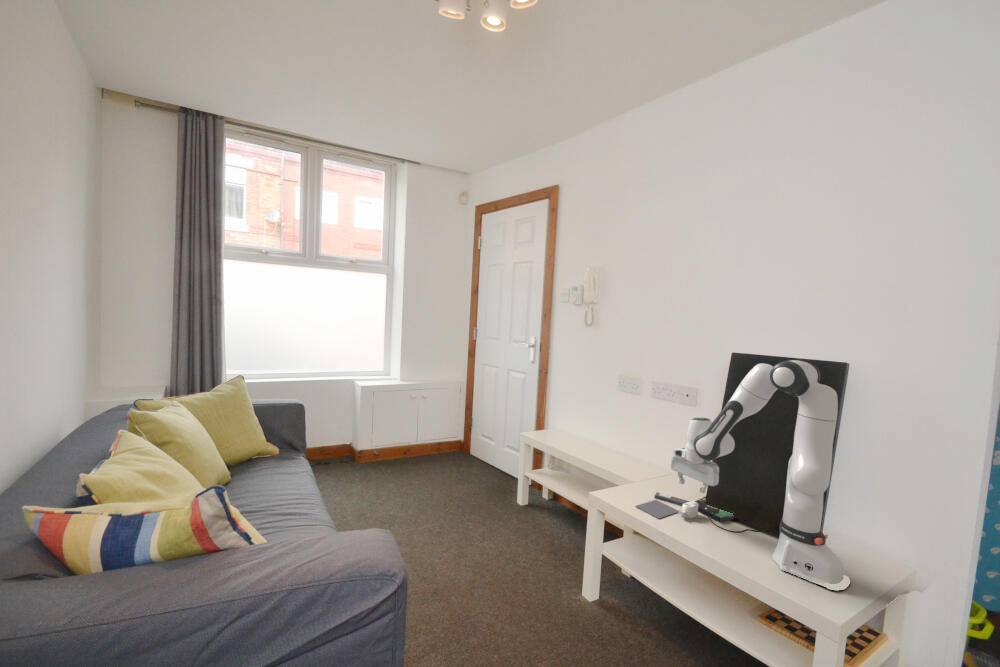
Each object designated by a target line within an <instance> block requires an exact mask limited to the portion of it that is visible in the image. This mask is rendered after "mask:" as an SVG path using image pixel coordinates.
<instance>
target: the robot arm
mask: <svg viewBox="0 0 1000 667" xmlns="http://www.w3.org/2000/svg"><path fill="white" fill-rule="evenodd" d="M820 380H821V372H820V369H819V368H818V367H817V366H816V365H815V364H814V363H811V362H810V361H806V360H798V359H796V360H795V359H794V360H792V359H791V360H784V361H780V362H779V363H777V364H775V365H774V366H773V365H771V364H769V363H763V362H761V363H757V364H756V365H754V366H753V368H751V369H750V370H749V371H748V373H747V374H746V375H745V376H744V378H743V379H742V380H741V382H740V383H739V384H738V386H737V387H736V389H735V391H734V392H733V394H732V396H731V397H730V399H729V400H728V401H727V403H726V404H725V406H724V407H723V408H722V409H721V411H720V412H719V414H718V415H717V416H716V417H715V418H714V420H713V421H712V420H711V419H709V418H707V417H693V418H692V419H690V420H689V424H688V426H687V431H686V432H687V434H686V444H685V447H680V448H679V447H678V448H676V449H673V455H672V456H671V460H670V464H669V465H670V469H671V470H672V471H674V472H677V477H678V479H679V482H678V483H679V484H681V485H685V484H686V483H685V482H686V479H684V476H687V477H689V478H692V479H694V480H695V481H699V482H701V483H702V487H699V492H700V493H702V494H705V493H706V489H708V488H709V486H710V487H715V486H717V485H719V483H720V482H719V481H720V467H719V465H718V464H717V463H716V462H714V461H715V460H716V459H718V458H720V457H724V456H727V455H729V454H731V453H732V452H733V451H734V450H735V448H736V443H735V442H736V441H735V439H734V437H733V435H731V434H730V431H731V430H732V429H733V428H734V426H735V425H736V424H737V423H739V422H740V421H741V420H743V419H746V418H747V417H750V416H752V415H755V414H757V413H758V412H760V411H761V410H762V409H763V408H764V407H766V404H768V402H769V400H771V398H772V397H773V395H774V393H775V392H776V391H777V390H780V391H781V392H782V393H783V392H784V393H786V394H787V395H790V396H791V397H795V398H796V397H797V398H798V409H797V415H796V416H797V417H796V422H795V428H794V433H793V434H794V435H793V446H792V454H791V456H790V458H789V460H788V464H787V466H788V467H787V475H786V483H785V484H786V486H785V497H784V505H783V514H782V518H781V519H780V523H779V530H778V531H779V532H778V533H779V536H778V537H779V538H778V540H777V544H776V547H775V549H774V551H773V553H772V556H771V557H772V559H773V561H774V562H775V563H776V564H777V565H778V567H779V569H780V570H781V571H782V570H783V571H782V572H784V571H786V572H789V573H791V574H794V575H797V576H800V577H803V578H806V579H808V580H811V581H814V582H817V583H822V584H824V583H829V584H837V583H840V582H841V581H842V580H843V578H844V577H843V574H844V565H843V561H842V560H841V559H840V558H839V556H837V555H836V553H835V552H834V551H833V550H832V549H831V548H830V547H829V546H828V545H827V544H826V540H827V539H828V536H829V535H828V533H827V534H824V533H823V532H822V530H821V524H822V520H823V519H822V518H823V511H824V493H825V492H826V491H827V489H828V487H829V486H830V481H831V473H832V464H833V462H832V461H833V446H834V445H833V444H834V438H835V432H836V428H837V426H836V425H837V420H838V414H839V412H838V411H839V410H838V408H839V407H838V406H839V402H838V401H839V400H838V394H837V391H836V390H835V389H834V388H832V387H831V386H829V385H826V384H822V383H820ZM683 475H684V476H683ZM786 572H785V573H786ZM789 573H788V574H789ZM791 574H790V575H791ZM794 575H793V576H794ZM815 580H817V581H815Z"/></svg>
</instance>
